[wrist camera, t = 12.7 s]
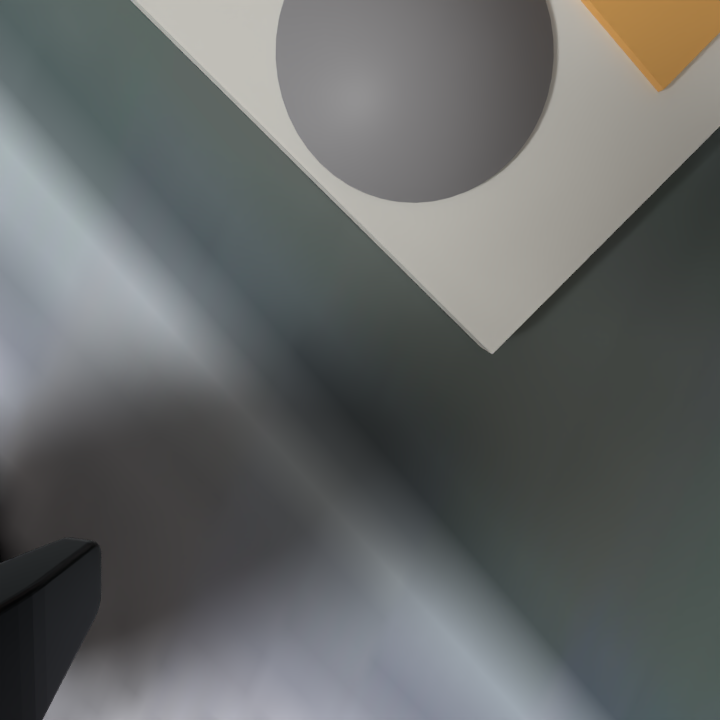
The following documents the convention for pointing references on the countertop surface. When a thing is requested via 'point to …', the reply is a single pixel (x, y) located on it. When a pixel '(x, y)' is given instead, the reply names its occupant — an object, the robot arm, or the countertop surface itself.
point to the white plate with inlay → (470, 123)
